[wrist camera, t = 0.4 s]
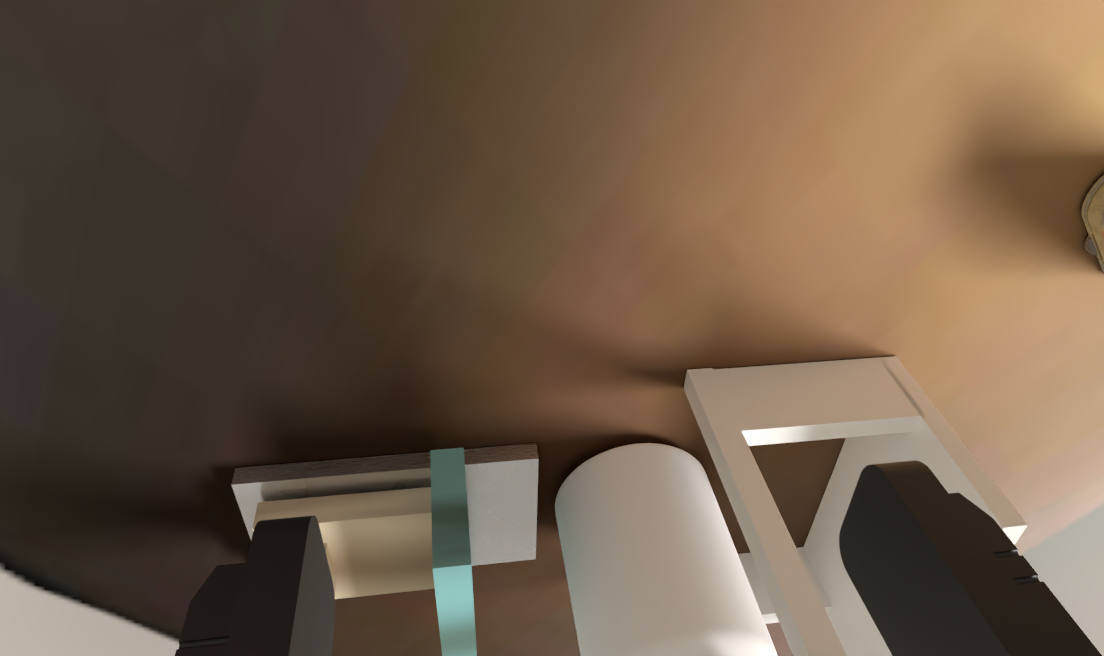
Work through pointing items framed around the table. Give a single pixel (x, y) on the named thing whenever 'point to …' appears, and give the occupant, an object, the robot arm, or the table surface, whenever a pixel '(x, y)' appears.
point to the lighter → (1095, 220)
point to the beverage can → (654, 559)
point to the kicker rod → (401, 544)
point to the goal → (871, 438)
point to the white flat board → (491, 482)
